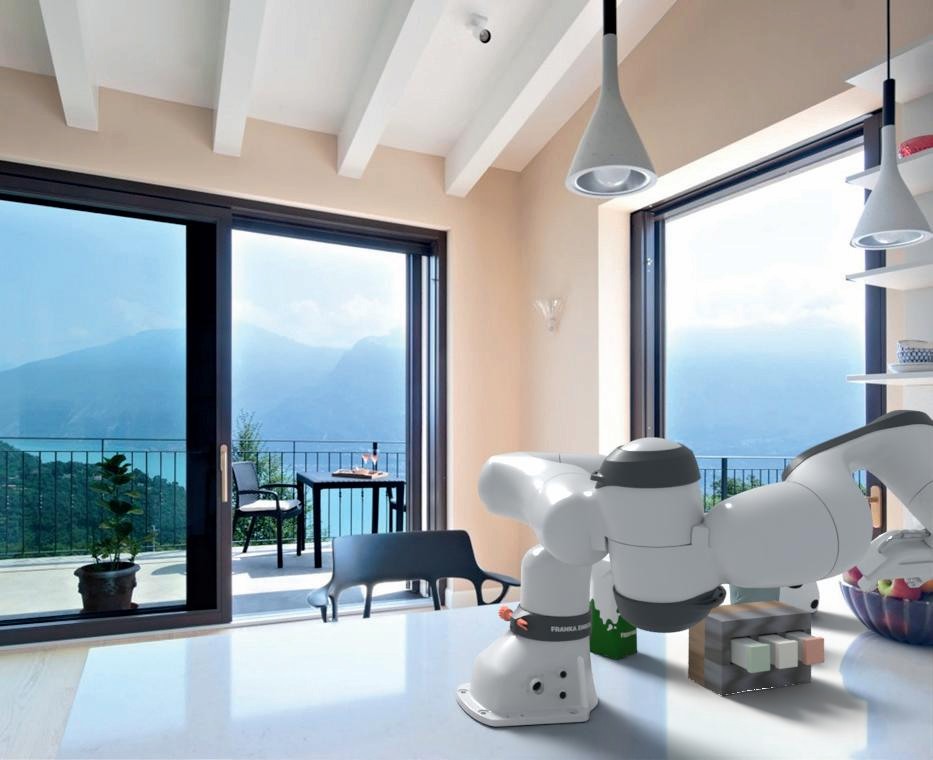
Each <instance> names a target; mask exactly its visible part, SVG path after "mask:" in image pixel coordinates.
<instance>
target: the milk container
mask: <svg viewBox="0 0 933 760" xmlns="http://www.w3.org/2000/svg"><path fill="white" fill-rule="evenodd" d="M817 582H818V581H815V582H811V583H807V584H802V585H796V586H789V587H780V596H779V602H781V603H784V604H787V605H791V606H794V607H797V608H800V609H803V610H806V611H809V612H811V616H812V615H813V614H815V613H816V612H817V611H818V609H819V605H820V596H821V595H820V590H819V586H818V583H817Z"/></svg>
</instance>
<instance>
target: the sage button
mask: <svg viewBox="0 0 933 760" xmlns="http://www.w3.org/2000/svg"><path fill="white" fill-rule="evenodd" d="M730 662H732V663H735V664H737V665H739V666H741V667H743V668H745V669H747V671H748V672H750V673H755V672H762V671H769V670H770V645H769V644H762V643H760V642H757V641H755V640H752V639H750V638H747V637H745V638H736V639H730Z"/></svg>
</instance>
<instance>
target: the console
mask: <svg viewBox="0 0 933 760" xmlns="http://www.w3.org/2000/svg"><path fill="white" fill-rule="evenodd" d="M796 631H801V632H804V633H806V634H809V635H812V615H811V612H809V611H806V610H803V609H800V608H797V607H794V606H791V605H787V604H784V603H781V602H778V601H775V600H774V601H763V602H753V603H742V604H731V603H730V604H721V605H719V606H717V607H715V608H713V609H712V610H711V611H710V613H709V614H708V616H707V617H706V618H704V619H703V620H702V621H700V622H699V623H698V624H696V625H695V626H693V627H691V628H689V629H688V652H687V653H688V656H687V659H688V661H687V662H688V663H687V664H688V665H687V667H688V669H687V670H688V671H687V676H688V677H687V679H689V678H690V679H691V681H692V680H694V681H695V683H696V682H697V683H696V684H698V683H699V684H698V685H700V686H702V687H703V686H704V687H703V688H705V687H706V688H705V689H707V688H708V689H707V690H709V689H710V690H709V691H711V690H712V691H711V692H713V691H714V692H716V693H718V694H720V695H726V694H732V693H737V692H742V691H747V690H754V689H755V690H756V689H762V688H770V689H772V688H771V687H777V688H780V687H779V686H783V687H786V686H785V685H790V686H793V685H792V684H796V685H800V684H799V683H802V684H808V682H809V683H812V664H811V665H805V664H803V662H802V661H800V660H798V666H797V667H790V668H783V669H778V668H776V667H775V665H773V664H771V663H770V670H769V671H762V672H755V673H750V672H748V671H747V669H745V668H743V667H741V666H739V665H737V664H735V663H732V662H730V639H736V638H745V637H747V638H750V639H752V640H755V641H757V642H758V636H762V635H770V634H775V635H777V636H780V637H783V638H785V633H787V632H796ZM690 679H689V680H690ZM694 681H693V682H694ZM714 692H713V693H714ZM716 693H715V694H716ZM718 694H717V695H718ZM720 695H719V696H720ZM732 695H733V694H732ZM726 696H727V695H726Z"/></svg>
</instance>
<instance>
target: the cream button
mask: <svg viewBox="0 0 933 760" xmlns="http://www.w3.org/2000/svg"><path fill="white" fill-rule="evenodd" d="M758 642H760V643H762V644H769V645H770V663H771V664H773V665H775V667H776V668H778V669H783V668H790V667H797V666H798V642H797V641H795V640H791V641H790V640H788V639H785V638H783V637H780V636H777V635H775V634H770V635H762V636H758Z"/></svg>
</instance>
